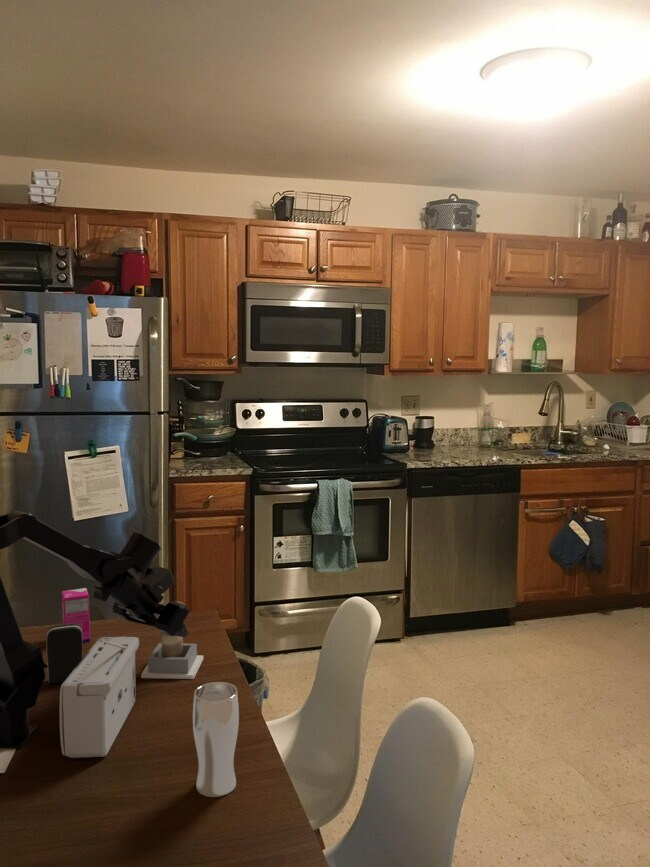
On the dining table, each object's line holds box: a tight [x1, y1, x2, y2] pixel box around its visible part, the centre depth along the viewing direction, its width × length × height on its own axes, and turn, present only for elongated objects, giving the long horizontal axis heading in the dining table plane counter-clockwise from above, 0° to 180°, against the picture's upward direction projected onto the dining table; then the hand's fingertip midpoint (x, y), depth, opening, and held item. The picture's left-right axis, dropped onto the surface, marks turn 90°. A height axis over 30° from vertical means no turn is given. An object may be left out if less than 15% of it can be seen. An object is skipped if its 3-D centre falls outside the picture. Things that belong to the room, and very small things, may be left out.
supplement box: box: [61, 587, 92, 643], centre depth 159 cm, size 6×6×12 cm
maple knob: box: [160, 601, 186, 657], centre depth 143 cm, size 6×6×13 cm
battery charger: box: [45, 623, 84, 685], centre depth 138 cm, size 7×4×11 cm, turn 112°
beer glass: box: [192, 681, 240, 798], centre depth 102 cm, size 7×7×15 cm
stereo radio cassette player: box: [59, 636, 140, 759], centre depth 118 cm, size 21×8×20 cm, turn 1°
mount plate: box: [140, 642, 204, 680], centre depth 144 cm, size 10×11×4 cm
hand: (172, 630), depth 143 cm, fingers open, 9 cm apart
